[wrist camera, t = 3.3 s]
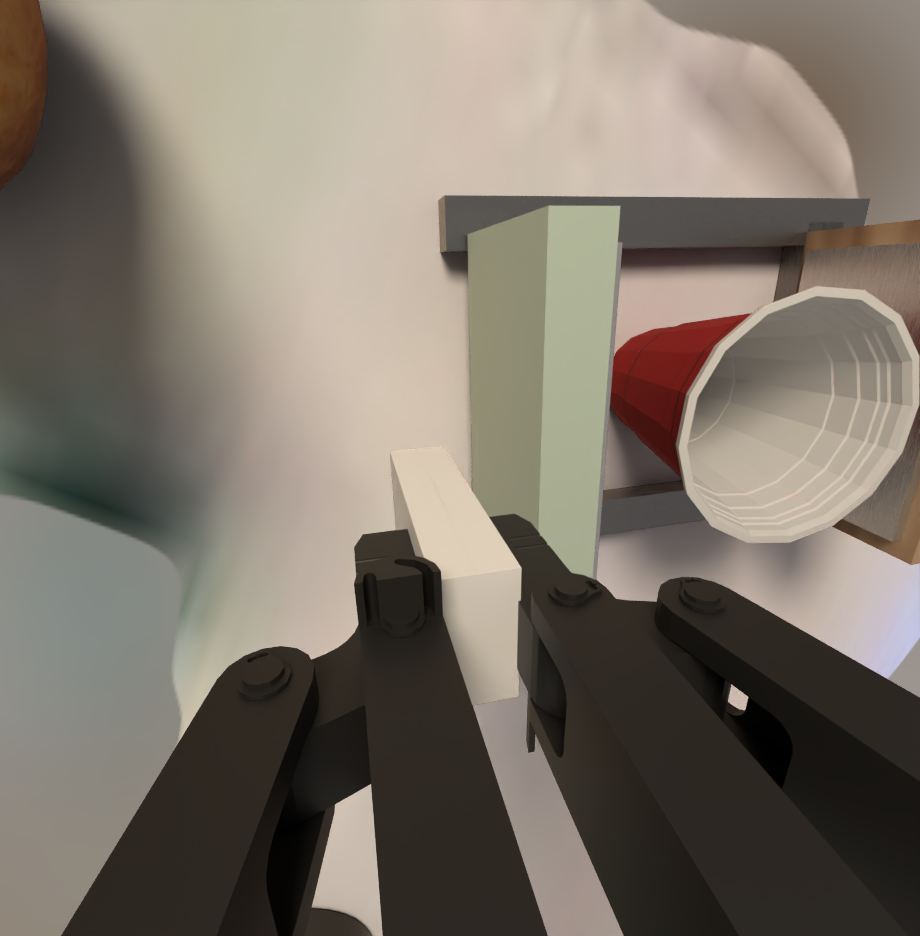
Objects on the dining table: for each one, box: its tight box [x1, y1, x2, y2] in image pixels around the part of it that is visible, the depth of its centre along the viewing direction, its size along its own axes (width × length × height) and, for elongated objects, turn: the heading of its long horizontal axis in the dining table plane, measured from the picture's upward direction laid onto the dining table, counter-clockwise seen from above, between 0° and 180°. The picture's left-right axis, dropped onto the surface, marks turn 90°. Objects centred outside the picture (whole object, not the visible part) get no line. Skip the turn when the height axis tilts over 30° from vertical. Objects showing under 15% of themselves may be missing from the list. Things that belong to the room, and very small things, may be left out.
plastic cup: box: [610, 286, 919, 543], centre depth 26 cm, size 11×11×12 cm
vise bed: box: [439, 196, 920, 565], centre depth 26 cm, size 25×19×12 cm
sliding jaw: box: [467, 206, 623, 580], centre depth 23 cm, size 3×16×10 cm, turn 1°
